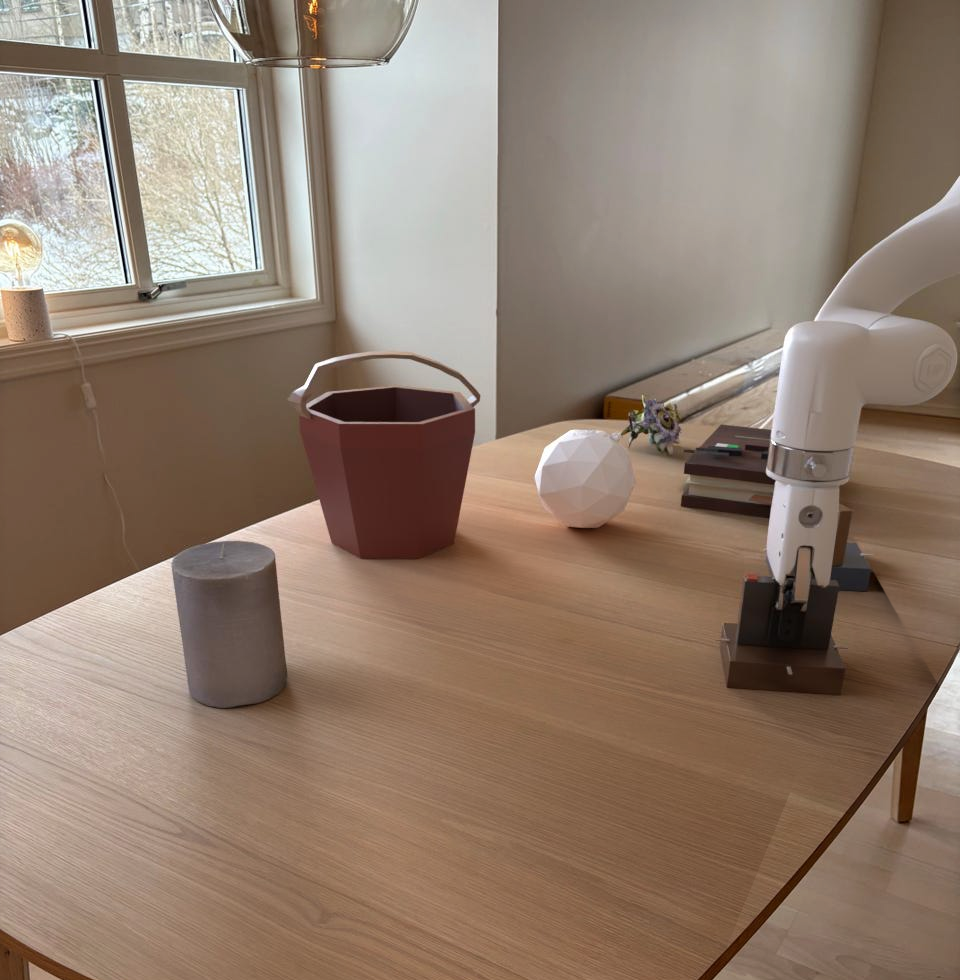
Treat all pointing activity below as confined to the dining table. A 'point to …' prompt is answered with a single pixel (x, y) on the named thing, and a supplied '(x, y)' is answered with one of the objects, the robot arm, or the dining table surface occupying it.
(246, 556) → the pillar candle
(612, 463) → the geodesic sphere
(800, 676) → the stand near
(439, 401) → the bucket
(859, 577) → the stand far
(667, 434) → the passion flower
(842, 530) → the frame far
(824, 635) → the frame near
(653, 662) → the dining table surface
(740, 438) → the decorative book
